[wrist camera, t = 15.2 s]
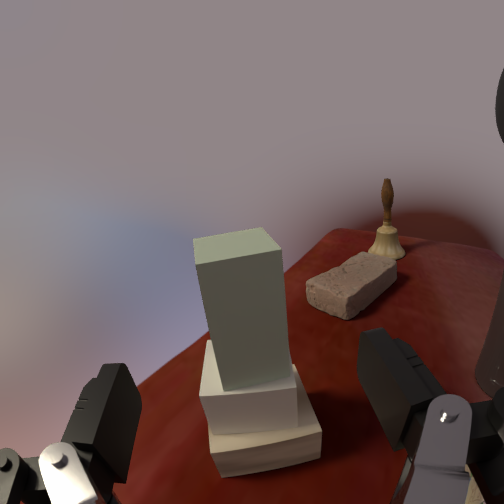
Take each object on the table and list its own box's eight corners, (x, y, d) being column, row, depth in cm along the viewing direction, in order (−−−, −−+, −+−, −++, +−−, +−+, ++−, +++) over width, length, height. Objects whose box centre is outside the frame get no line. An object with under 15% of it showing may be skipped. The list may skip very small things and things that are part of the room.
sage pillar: (215, 351, 26) (193, 238, 22) (273, 339, 26) (261, 227, 23) (223, 391, 21) (195, 264, 17) (290, 376, 22) (281, 249, 18)
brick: (361, 270, 58) (361, 247, 56) (398, 281, 52) (400, 257, 50) (304, 307, 49) (303, 281, 47) (347, 326, 43) (348, 297, 41)
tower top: (217, 379, 29) (207, 340, 27) (288, 372, 29) (285, 332, 27) (212, 434, 22) (199, 396, 21) (297, 427, 22) (296, 387, 21)
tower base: (214, 411, 31) (205, 380, 29) (295, 396, 32) (294, 364, 30) (222, 479, 22) (210, 453, 21) (320, 459, 23) (322, 430, 22)
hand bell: (363, 248, 67) (362, 177, 62) (397, 244, 67) (397, 175, 61) (374, 262, 60) (374, 183, 54) (410, 258, 59) (413, 181, 53)
